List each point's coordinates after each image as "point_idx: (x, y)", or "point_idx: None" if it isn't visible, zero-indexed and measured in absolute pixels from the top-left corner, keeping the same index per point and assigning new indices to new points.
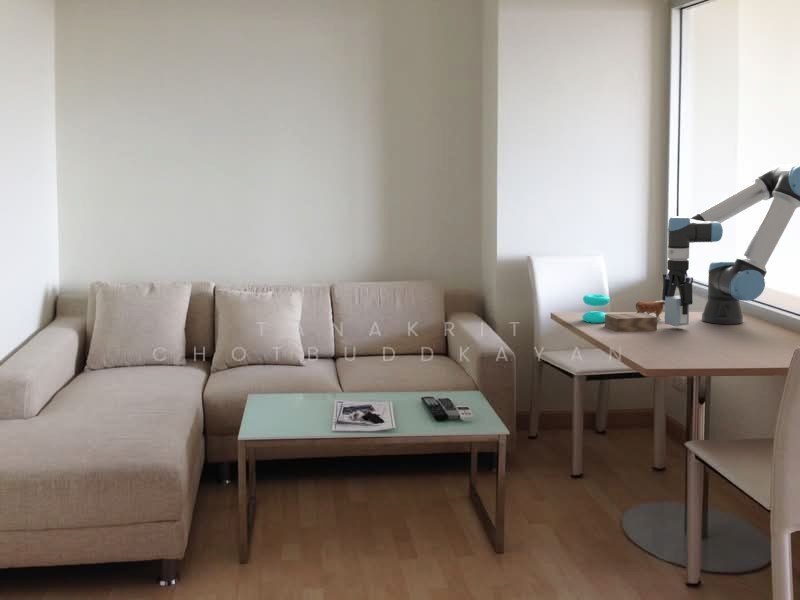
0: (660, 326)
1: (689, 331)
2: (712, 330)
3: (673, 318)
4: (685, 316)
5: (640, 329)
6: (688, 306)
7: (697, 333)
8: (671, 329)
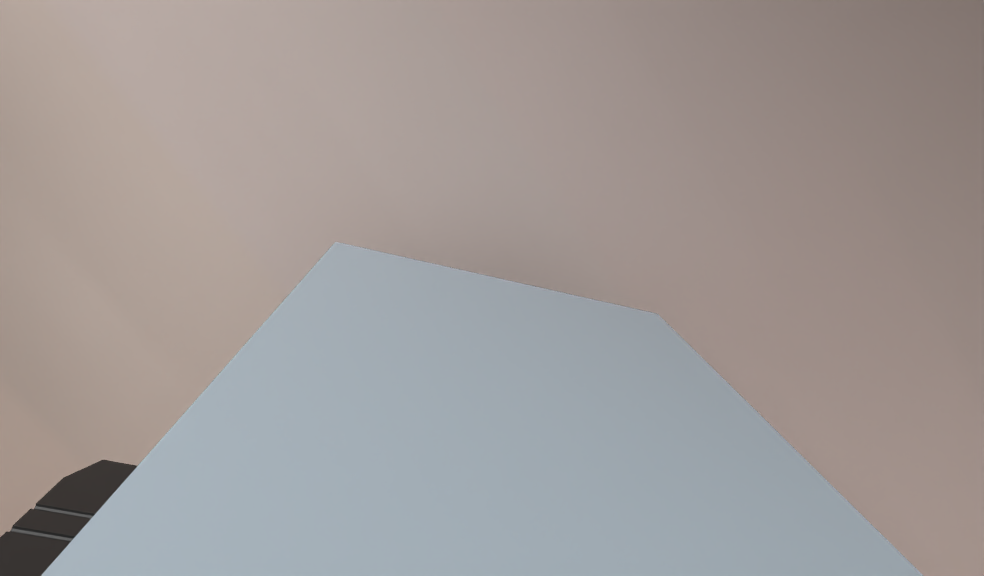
0: (148, 421)
1: None
2: (965, 16)
3: None
4: None
5: None
6: (863, 549)
7: (900, 450)
8: None
